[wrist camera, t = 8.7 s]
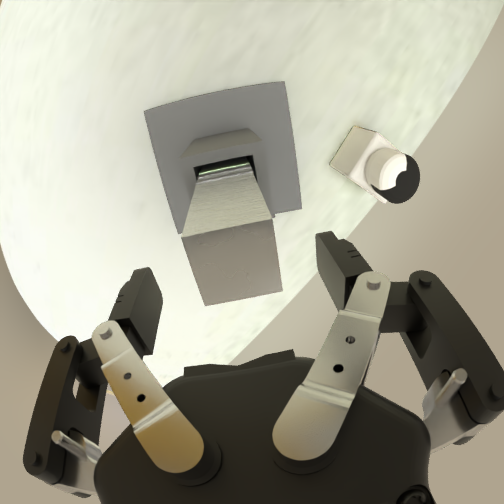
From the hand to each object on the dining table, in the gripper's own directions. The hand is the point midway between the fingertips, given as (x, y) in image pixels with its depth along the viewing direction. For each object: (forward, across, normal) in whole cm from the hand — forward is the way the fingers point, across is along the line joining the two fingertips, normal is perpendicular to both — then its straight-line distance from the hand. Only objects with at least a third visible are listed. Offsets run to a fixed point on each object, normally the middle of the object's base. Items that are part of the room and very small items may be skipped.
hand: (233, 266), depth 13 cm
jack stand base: (+26, 0, 0) cm, 26 cm away
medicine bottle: (+26, -19, +3) cm, 33 cm away
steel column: (+18, 0, 0) cm, 18 cm away
